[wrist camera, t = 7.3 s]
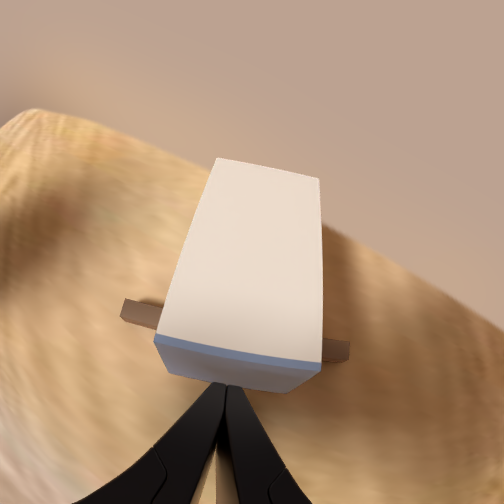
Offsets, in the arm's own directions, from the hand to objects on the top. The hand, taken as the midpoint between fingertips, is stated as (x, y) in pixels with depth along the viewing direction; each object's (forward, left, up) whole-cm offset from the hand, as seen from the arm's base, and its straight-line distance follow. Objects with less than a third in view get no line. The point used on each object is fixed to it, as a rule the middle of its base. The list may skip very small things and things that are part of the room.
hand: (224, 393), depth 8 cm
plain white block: (+1, +1, -2) cm, 3 cm away
